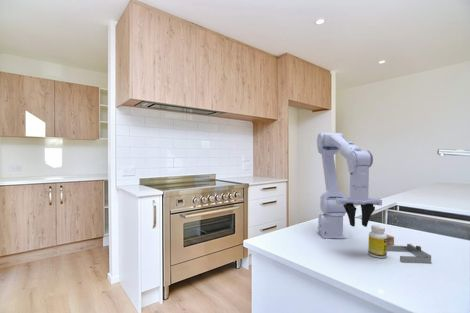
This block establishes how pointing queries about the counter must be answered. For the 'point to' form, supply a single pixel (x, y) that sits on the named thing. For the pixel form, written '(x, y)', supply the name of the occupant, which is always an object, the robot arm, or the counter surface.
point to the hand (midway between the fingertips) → (358, 225)
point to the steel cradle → (419, 254)
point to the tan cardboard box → (390, 240)
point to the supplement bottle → (377, 242)
